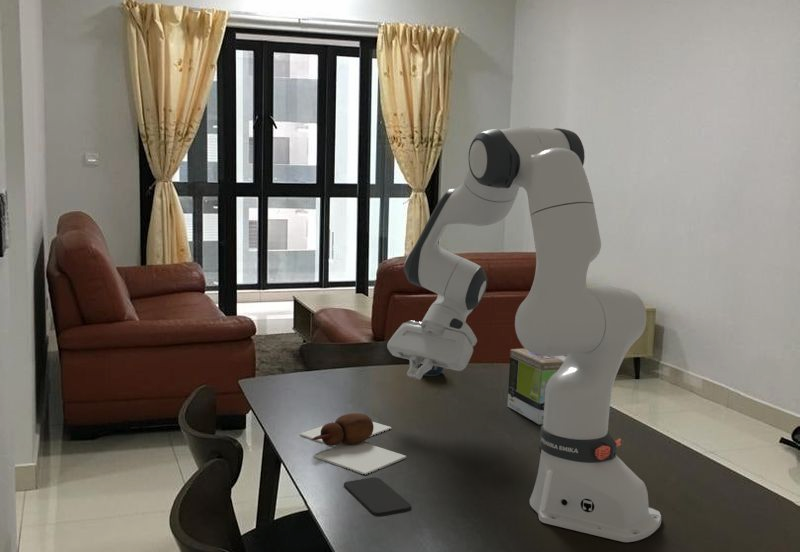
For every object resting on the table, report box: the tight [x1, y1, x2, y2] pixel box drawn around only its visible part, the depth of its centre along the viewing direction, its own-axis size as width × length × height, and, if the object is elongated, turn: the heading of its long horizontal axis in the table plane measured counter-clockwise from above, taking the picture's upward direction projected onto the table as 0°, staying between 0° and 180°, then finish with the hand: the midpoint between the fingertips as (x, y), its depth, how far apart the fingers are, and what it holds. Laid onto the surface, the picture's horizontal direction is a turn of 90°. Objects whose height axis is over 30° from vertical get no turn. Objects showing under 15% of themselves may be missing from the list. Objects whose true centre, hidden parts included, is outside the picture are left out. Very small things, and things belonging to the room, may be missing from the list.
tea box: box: [507, 347, 567, 425], centre depth 201 cm, size 15×10×15 cm, turn 22°
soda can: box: [417, 362, 444, 377], centre depth 235 cm, size 7×7×12 cm
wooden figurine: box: [310, 412, 374, 447], centre depth 176 cm, size 7×6×15 cm
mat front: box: [299, 421, 392, 448], centre depth 186 cm, size 12×17×1 cm
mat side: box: [314, 441, 407, 476], centre depth 171 cm, size 14×12×1 cm
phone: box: [343, 477, 412, 517], centre depth 152 cm, size 7×1×15 cm
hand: (413, 377), depth 186 cm, fingers closed
